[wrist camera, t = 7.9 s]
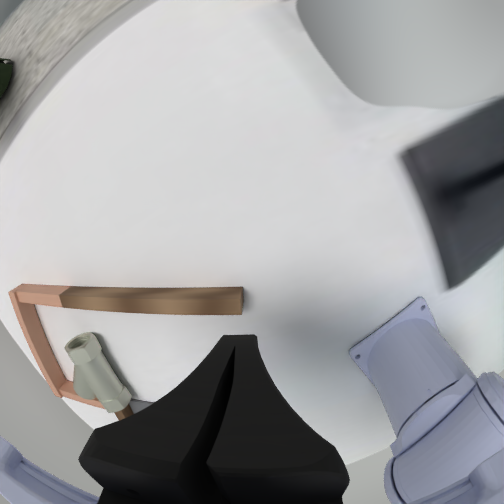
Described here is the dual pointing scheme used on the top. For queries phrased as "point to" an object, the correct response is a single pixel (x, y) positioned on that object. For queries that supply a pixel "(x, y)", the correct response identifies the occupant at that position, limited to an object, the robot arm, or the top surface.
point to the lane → (154, 308)
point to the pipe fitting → (95, 374)
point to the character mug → (4, 75)
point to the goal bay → (43, 335)
